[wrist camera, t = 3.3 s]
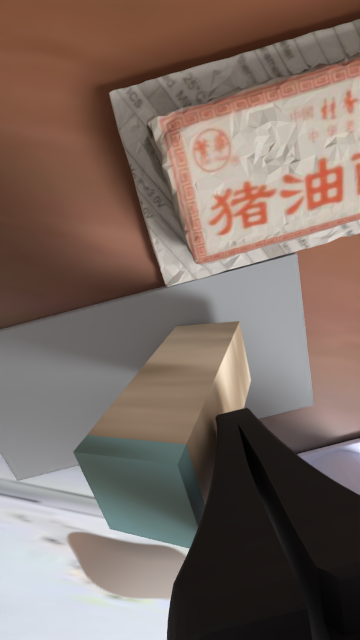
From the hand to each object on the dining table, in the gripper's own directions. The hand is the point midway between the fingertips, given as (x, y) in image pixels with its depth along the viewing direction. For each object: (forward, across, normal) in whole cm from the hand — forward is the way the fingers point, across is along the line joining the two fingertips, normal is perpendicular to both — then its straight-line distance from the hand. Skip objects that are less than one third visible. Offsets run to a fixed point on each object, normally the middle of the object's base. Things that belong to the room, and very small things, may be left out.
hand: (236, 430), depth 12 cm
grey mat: (+8, +4, +1) cm, 10 cm away
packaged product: (+9, -7, -10) cm, 15 cm away
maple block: (+7, 0, 0) cm, 7 cm away
